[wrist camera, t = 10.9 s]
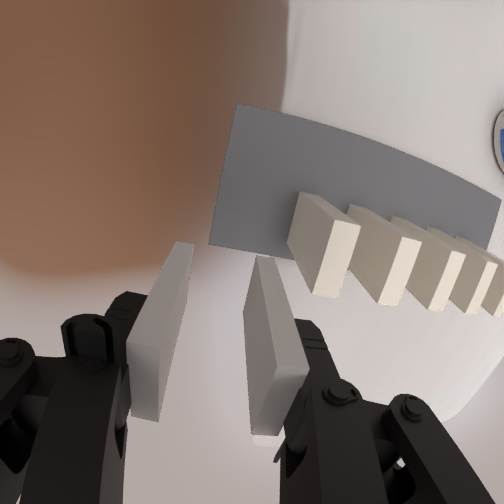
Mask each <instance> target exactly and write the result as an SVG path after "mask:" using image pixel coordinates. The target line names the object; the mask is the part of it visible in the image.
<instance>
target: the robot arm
mask: <svg viewBox="0 0 504 504" xmlns="http://www.w3.org/2000/svg"><path fill="white" fill-rule="evenodd" d="M194 245H195V244H190V243H184V242H178V241H176V243H175V245H174V246H173V248H172V250H171V252H170V254H169V256H168V258H167V260H166V262H165V264H164V265H163V267H162V269H161V271H160V273H159V275H158V277H157V279H156V281H155V283H154V285H153V287H152V289H151V291H150V293H149V295H143V294H138V293H133V292H128V291H126V292H124V293H123V294H121V295H119V296H118V297H116V298H115V299H114V301H113V302H112V304H111V305H110V308H108V310H107V311H106V313H105V316H100V315H97V314H81V315H76V316H73V317H71V318H69V319H67V320H66V321H65V322H64V323H63V324H62V325H61V332H62V337H63V343H64V349H65V354H66V356H65V357H42V356H35V353H34V350H33V348H32V346H31V345H30V344H29V343H28V342H26V341H25V340H22V339H19V338H6V339H3V340H0V504H16V502H17V500H18V498H19V496H20V494H21V497H20V502H19V504H123V481H124V465H125V452H126V441H127V432H128V429H127V422H126V419H127V416H128V412H129V409H130V408H131V416H133V417H138V418H142V419H146V420H151V421H156V422H159V417H160V412H161V407H162V402H163V398H164V393H165V389H166V384H167V380H168V375H169V371H170V367H171V362H172V358H173V354H174V350H175V346H176V342H177V337H178V334H179V329H180V325H181V322H182V318H183V314H184V310H185V306H186V302H187V294H188V286H189V280H190V273H191V265H192V258H193V252H194ZM243 317H244V335H245V349H246V350H245V351H246V364H247V381H248V396H249V410H250V424H251V434H252V435H270V436H278V435H279V433H280V431H281V429H282V427H283V425H284V431H285V436H286V438H285V439H284V441H283V443H282V445H281V447H280V449H279V450H278V452H277V454H276V455H275V458H274V461H273V462H274V463H277V462H278V460H279V459H281V460H280V504H495V502H494V501H493V499H492V498H491V496H490V494H489V493H488V491H487V490H486V488H485V487H484V485H483V484H482V482H481V481H480V479H479V477H478V476H477V474H476V473H475V472H474V470H473V469H472V467H471V466H470V464H469V463H468V461H467V460H466V458H465V457H464V455H463V454H462V452H461V451H460V449H459V448H458V446H457V445H456V444H455V443H454V441H453V439H452V438H451V437H450V435H449V434H448V432H447V431H446V429H445V428H444V427H443V425H442V424H441V422H440V421H439V420H438V418H437V417H436V416H435V414H434V413H433V411H432V410H431V409H430V407H429V406H428V405H427V404H426V403H425V402H424V401H423V400H421V399H420V398H418V397H416V396H413V395H410V394H400V395H397V396H395V397H394V398H393V400H392V401H391V402H390V404H389V405H383V404H379V403H374V402H370V401H366V400H363V399H362V396H361V394H360V392H359V390H358V389H357V388H356V387H355V386H353V385H352V384H351V383H349V382H347V381H345V380H344V379H340V376H339V374H338V371H337V369H336V366H335V364H334V362H333V359H332V357H331V354H330V352H329V350H328V347H327V345H326V342H324V338H323V335H322V333H321V331H320V329H319V328H318V327H317V326H316V325H315V324H314V323H313V322H312V321H310V320H302V319H294V317H293V314H292V311H291V308H290V305H289V302H288V299H287V296H286V293H285V290H284V287H283V283H282V280H281V277H280V274H279V271H278V268H277V265H276V262H275V259H274V258H268V257H262V256H256V259H255V264H254V268H253V272H252V276H251V280H250V285H249V289H248V293H247V297H246V302H245V306H244V311H243ZM280 457H281V458H280ZM400 458H402V460H403V461H404V463H405V466H404V467H401V466H399V465H398V464H397V461H398V460H399V459H400Z"/></svg>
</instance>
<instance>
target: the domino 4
mask: <svg viewBox="0 0 504 504" xmlns="http://www.w3.org/2000/svg"><path fill="white" fill-rule="evenodd" d="M426 231H428V232H429V233H431V234H433V235H435V236H436V237H438V238H440V239H441V240H443V241H445V242H446V243H448V244H450V245H451V246H453V247H455V248H456V249H458V250H460V251H461V252H463V253H464V254H466V256H465V259H464V262H463V264H462V267H461V270H460V272H459V275H458V277H457V279H456V282H455V284H454V287H453V289H452V291H451V293H450V296H449V298H448V299H449V300H450V301H452V302H453V303H454V304H455V305H456V306H457V307H458V308H459V309H460V310H461V311H463V312H464V313H465V314H472V315H476V314H477V312H478V310H479V308H480V306H481V303H482V301H483V299H484V297H485V295H486V292H487V290H488V288H489V285H490V283H491V281H492V278H493V276H494V273H495V271H496V268H497V266H498V264H496V263H495V262H493V261H492V260H490V259H488V258H487V257H485V256H484V255H482V254H480V253H479V252H477V251H475V250H474V249H472V248H470V247H469V246H467V245H465V244H463V243H462V242H460V241H458V240H456V239H455V238H453V237H451V236H449V235H448V234H446V233H444V232H442V231H440V230H438V229H435V228H432V227H429V226H428V227H427V230H426Z"/></svg>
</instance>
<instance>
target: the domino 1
mask: <svg viewBox="0 0 504 504" xmlns="http://www.w3.org/2000/svg"><path fill="white" fill-rule="evenodd" d="M360 228H361V225H359V224H358V223H357V222H355V221H354V220H352V219H351V218H350V217H348V216H347V215H346V214H344V213H343V212H341V211H340V210H339V209H337V208H336V207H334V206H333V205H331V204H330V203H329V202H327V201H326V200H324V199H323V198H321V197H320V196H318V195H314V194H310V193H306V192H301V191H300V192H299V196H298V200H297V204H296V208H295V212H294V216H293V220H292V224H291V228H290V232H289V235H288V239H287V245H288V247H289V249H290V251H291V253H292V255H293V257H294V259H295V261H296V263H297V265H298V267H299V269H300V271H301V273H302V275H303V277H304V279H305V281H306V284H307V286H308V288H309V290H310V292H311V294H312V295H318V296H325V297H332V298H337V297H338V294H339V291H340V289H341V286H342V283H343V280H344V277H345V274H346V272H347V269H348V266H349V263H350V260H351V257H352V254H353V251H354V248H355V244H356V241H357V238H358V235H359V232H360Z"/></svg>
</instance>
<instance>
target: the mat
mask: <svg viewBox="0 0 504 504" xmlns="http://www.w3.org/2000/svg"><path fill="white" fill-rule="evenodd" d="M300 191H301V192H306V193H310V194H314V195H318V196H320V197H321V198H323V199H324V200H326V201H327V202H329V203H330V204H331V205H333V206H334V207H336V208H337V209H339V210H340V211H341V212H343V213H344V214H346V215H347V211H348V208H349V204H353V205H357V206H361V207H364V208H367V209H369V210H370V211H372V212H374V213H376V214H377V215H379V216H381V217H382V218H384V219H386V220H387V221H389V222H390V221H391V218H392V215H393V216H396V217H400V218H403V219H406V220H408V221H410V222H412V223H413V224H415V225H417V226H419V227H421V228H422V229H424V230H427V227H428V226H429V227H432V228H435V229H438V230H440V231H442V232H444V233H446V234H448V235H449V236H451V237H453V238H456V236H459V237H462V238H465V239H467V240H469V241H470V242H472V243H474V244H476V245H478V246H479V247H481V248H483V249H484V250H486V249H487V247H488V244H489V241H490V238H491V235H492V232H493V228H494V225H495V222H496V218H497V215H498V211H499V208H500V204H501V199H499V198H498V197H496V196H494V195H492V194H491V193H489V192H487V191H485V190H483V189H481V188H480V187H478V186H476V185H474V184H472V183H470V182H468V181H466V180H464V179H462V178H460V177H458V176H456V175H454V174H452V173H450V172H448V171H446V170H444V169H442V168H439V167H437V166H435V165H433V164H431V163H428V162H426V161H424V160H422V159H419V158H417V157H415V156H412V155H410V154H407V153H405V152H402V151H400V150H397V149H395V148H392V147H390V146H387V145H384V144H382V143H379V142H376V141H374V140H371V139H368V138H365V137H362V136H359V135H356V134H353V133H350V132H347V131H344V130H341V129H338V128H335V127H331V126H328V125H325V124H321V123H318V122H314V121H311V120H307V119H303V118H300V117H296V116H292V115H288V114H284V113H280V112H276V111H271V110H267V109H262V108H258V107H253V106H248V105H243V104H237V105H236V109H235V114H234V118H233V123H232V127H231V132H230V136H229V141H228V146H227V150H226V155H225V160H224V165H223V170H222V175H221V180H220V185H219V191H218V195H217V201H216V206H215V212H214V217H213V222H212V228H211V233H210V239H209V245H215V246H220V247H226V248H231V249H237V250H243V251H248V252H255V253H259V254H265V255H270V256H276V257H281V258H287V259H293V260H295V259H294V257H293V255H292V253H291V251H290V249H289V247H288V245H287V239H288V235H289V232H290V228H291V224H292V220H293V216H294V212H295V208H296V204H297V200H298V196H299V192H300ZM348 270H349V268H348Z"/></svg>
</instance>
